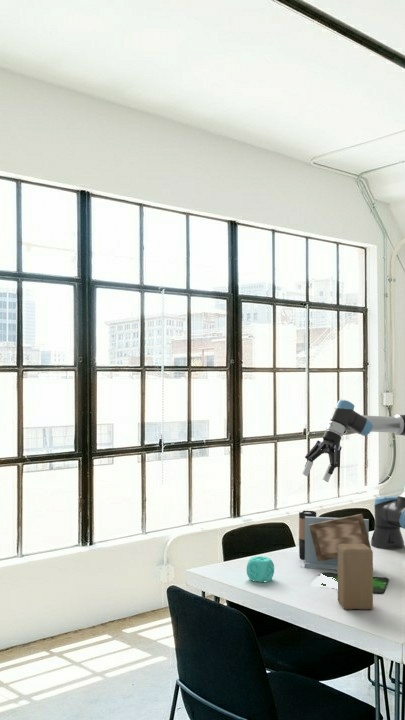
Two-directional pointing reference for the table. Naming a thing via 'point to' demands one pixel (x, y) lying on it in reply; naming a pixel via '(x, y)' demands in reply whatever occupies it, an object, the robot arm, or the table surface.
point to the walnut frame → (337, 535)
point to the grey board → (310, 550)
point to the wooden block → (355, 576)
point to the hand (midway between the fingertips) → (314, 478)
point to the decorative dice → (260, 569)
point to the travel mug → (303, 531)
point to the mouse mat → (378, 582)
